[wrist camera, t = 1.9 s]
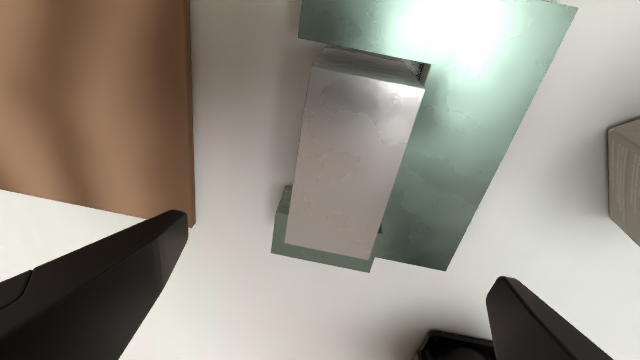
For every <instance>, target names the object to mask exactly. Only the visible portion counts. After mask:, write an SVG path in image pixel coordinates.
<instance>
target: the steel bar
mask: <svg viewBox="0 0 640 360" xmlns="http://www.w3.org/2000/svg"><path fill="white" fill-rule="evenodd" d="M424 91H425V89H424V87H423V86H422V85H421V83H420V82H419V81H418V80H417V78H416V77H415V76H414V75H413V73H412V72H411V71H410V69H409V68H408V67H407V66H406V64H405V63H404V62H401V61H396V60H391V59H386V58H381V57H376V56H371V55H366V54H361V53H356V52H351V51H346V50H341V49H336V48H330V47H325V48H324V50H323V51H322V52H321V54H320V55H319V56H318V58H317V59H316V60H315V62H314V63H313V64H312V66H311V68H310V75H309V82H308V88H307V95H306V102H305V108H304V115H303V122H302V128H301V135H300V141H299V148H298V155H297V161H296V168H295V175H294V181H293V188H292V195H291V201H290V208H289V215H288V221H287V228H286V235H285V241H284V243H286V244H291V245H296V246H301V247H306V248H311V249H316V250H321V251H326V252H331V253H335V254H340V255H345V256H350V257H355V258H360V259H365V260H369V257H370V254H371V251H372V248H373V245H374V242H375V239H376V236H377V233H378V230H379V227H380V224H381V221H382V218H383V215H384V212H385V209H386V206H387V203H388V200H389V197H390V194H391V191H392V188H393V185H394V182H395V179H396V176H397V173H398V170H399V167H400V164H401V161H402V158H403V155H404V152H405V149H406V146H407V143H408V140H409V137H410V134H411V131H412V128H413V125H414V122H415V119H416V116H417V113H418V109H419V106H420V103H421V100H422V97H423V94H424Z"/></svg>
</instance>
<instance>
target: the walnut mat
mask: <svg viewBox="0 0 640 360" xmlns="http://www.w3.org/2000/svg"><path fill="white" fill-rule="evenodd" d="M0 189H1V190H6V191H11V192H16V193H21V194H26V195H31V196H36V197H40V198H45V199H50V200H55V201H60V202H65V203H70V204H75V205H80V206H85V207H90V208H95V209H100V210H105V211H110V212H115V213H119V214H124V215H129V216H134V217H139V218H144V219H150V218H152V217H155V216H157V215H159V214H162V213H164V212H166V211H169V210H171V209H175V210H180V211H184V212H186V213H187V216H188V227H189V228H192V227H193V226H194V224H195V188H194V152H193V117H192V81H191V45H190V10H189V0H0Z"/></svg>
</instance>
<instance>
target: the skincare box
mask: <svg viewBox="0 0 640 360" xmlns="http://www.w3.org/2000/svg"><path fill="white" fill-rule="evenodd" d="M608 149H609V215H610V218H611V220H612V221H614V222H615V223H616V224H617V225H618V226H619V227H620V228H621V229H622V230H623V231H624V232H625V233H626V234H627V235H628V236H629V237H630V238H631V239H632V240H633V241H634V242H635V243H636V244H637V245H638V246H640V119H637V120H634V121H631V122H628V123H625V124H622V125H618V126H616V127H614V128H611V129H609V131H608Z"/></svg>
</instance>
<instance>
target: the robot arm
mask: <svg viewBox="0 0 640 360" xmlns="http://www.w3.org/2000/svg"><path fill="white" fill-rule="evenodd" d="M187 240H188V216H187V213H186V212H184V211H180V210H175V209H171V210H169V211H166V212H164V213H162V214H159V215H157V216H155V217H152V218H150V219H148V220H145V221H143V222H141V223H138V224H136V225H134V226H131V227H129V228H127V229H124V230H122V231H120V232H117V233H115V234H113V235H110V236H108V237H106V238H103V239H101V240H99V241H96V242H94V243H92V244H89V245H87V246H85V247H82V248H80V249H78V250H75V251H73V252H71V253H68V254H66V255H64V256H61V257H59V258H57V259H54V260H52V261H50V262H47V263H45V264H43V265H40V266H38V267H36V268H34V269H33V270H28V271H26V272H24V273H21V274H19V275H17V276H14V277H12V278H10V279H7V280H5V281H2V282H0V360H118V359H119V358H120V356H121V355H122V353H123V351H124V350H125V348H126V347H127V345H128V344H129V342H130V341H131V339H132V337H133V336H134V334H135V333H136V331H137V330H138V328H139V327H140V325H141V323H142V322H143V320H144V319H145V317H146V316H147V314H148V312H149V311H150V309H151V308H152V306H153V305H154V303H155V302H156V300H157V298H158V297H159V295H160V294H161V292H162V290H163V289H164V287H165V285H166V283H167V281H168V279H169V277H170V275H171V273H172V271H173V269H174V267H175V265H176V263H177V261H178V259H179V257H180V255H181V253H182V251H183V249H184V247H185V245H186V242H187ZM486 307H487V312H488V317H489V323H490V328H491V333H492V339H493V342H488V341H483V340H478V339H473V338H468V337H463V336H458V335H453V334H449V333H444V332H439V331H431V332H429V333H428V334H427V336H426V338H425V340H424V342H423V344H422V345H421V347H420V349H419V350H418V351H417V352H416V354H415V356H414V358H413V360H613V359H612V358H611V357H610V356H609V355H607V354H606V353H605V352H604V351H603V350H601V349H600V348H599V347H598V346H597V345H595V344H594V343H593V342H592V341H590V340H589V339H588V338H587V337H586V336H584V335H583V334H582V333H581V332H580V331H578V330H577V329H576V328H575V327H574V326H572V325H571V324H570V323H569V322H568V321H566V320H565V319H564V318H563V317H562V316H560V315H559V314H558V313H557V312H556V311H554V310H553V309H552V308H551V307H550V306H548V305H547V304H546V303H545V302H544V301H542V300H541V299H540V298H539V297H538V296H536V295H535V294H534V293H533V292H532V291H530V290H529V289H528V288H527V287H526V286H524V285H523V284H522V283H521V282H520V281H518V280H517V279H515V278H510V277H506V276H500V277H499V278H497V280H496V281H495V283H494V285H493V286H492V288H491V290H490V291H489V293H488V294H487V297H486Z"/></svg>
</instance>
